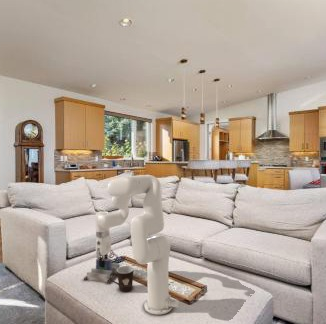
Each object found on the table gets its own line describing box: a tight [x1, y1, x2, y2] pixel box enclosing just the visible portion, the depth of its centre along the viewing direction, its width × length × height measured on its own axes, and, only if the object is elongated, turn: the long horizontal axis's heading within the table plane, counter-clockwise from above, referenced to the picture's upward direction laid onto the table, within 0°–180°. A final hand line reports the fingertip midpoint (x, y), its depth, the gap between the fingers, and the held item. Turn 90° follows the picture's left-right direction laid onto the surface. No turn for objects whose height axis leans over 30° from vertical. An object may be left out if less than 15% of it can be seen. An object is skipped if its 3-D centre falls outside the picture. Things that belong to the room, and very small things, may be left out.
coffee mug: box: [108, 265, 135, 293], centre depth 131 cm, size 12×9×10 cm
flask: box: [95, 256, 113, 271], centre depth 146 cm, size 9×3×11 cm, turn 80°
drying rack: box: [83, 262, 121, 285], centre depth 146 cm, size 15×17×4 cm
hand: (103, 265), depth 146 cm, fingers closed on flask, 3 cm apart
